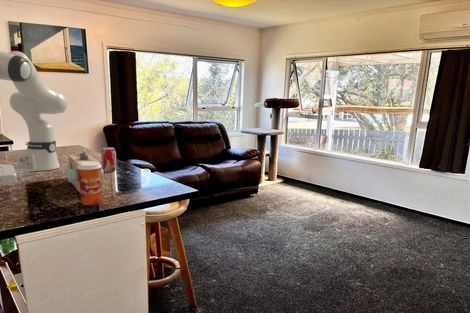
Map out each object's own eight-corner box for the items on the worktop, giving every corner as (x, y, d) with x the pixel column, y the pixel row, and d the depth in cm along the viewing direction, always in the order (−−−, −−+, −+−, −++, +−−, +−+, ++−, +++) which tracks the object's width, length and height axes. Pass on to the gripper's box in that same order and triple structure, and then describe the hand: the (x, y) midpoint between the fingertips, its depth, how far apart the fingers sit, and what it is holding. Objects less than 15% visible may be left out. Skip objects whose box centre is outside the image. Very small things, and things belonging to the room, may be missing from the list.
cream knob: (64, 176, 139) (63, 164, 138) (62, 173, 143) (61, 162, 142) (96, 172, 147) (96, 161, 146) (93, 170, 151) (93, 159, 150)
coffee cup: (81, 207, 116) (79, 166, 113) (76, 201, 122) (74, 162, 119) (106, 203, 121) (104, 164, 118) (100, 197, 127) (98, 160, 124)
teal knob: (70, 183, 129) (69, 171, 128) (68, 180, 133) (67, 168, 132) (104, 179, 137) (104, 167, 136) (101, 176, 140) (100, 165, 140)
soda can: (111, 173, 164) (110, 149, 162) (99, 172, 166) (98, 148, 163) (119, 170, 171) (118, 147, 169) (107, 169, 172) (106, 146, 170)
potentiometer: (78, 159, 138) (77, 149, 137) (83, 158, 141) (83, 148, 140) (85, 160, 137) (84, 149, 136) (90, 158, 140) (89, 148, 139)
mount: (81, 194, 130) (79, 165, 128) (70, 181, 147) (68, 155, 145) (102, 191, 135) (101, 163, 133) (89, 179, 152) (87, 153, 150)
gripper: (-15, 173, 116) (31, 169, 124) (-16, 163, 132) (25, 160, 140) (-13, 190, 117) (32, 185, 125) (-14, 178, 133) (26, 174, 141)
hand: (28, 172), depth 133 cm, fingers closed
